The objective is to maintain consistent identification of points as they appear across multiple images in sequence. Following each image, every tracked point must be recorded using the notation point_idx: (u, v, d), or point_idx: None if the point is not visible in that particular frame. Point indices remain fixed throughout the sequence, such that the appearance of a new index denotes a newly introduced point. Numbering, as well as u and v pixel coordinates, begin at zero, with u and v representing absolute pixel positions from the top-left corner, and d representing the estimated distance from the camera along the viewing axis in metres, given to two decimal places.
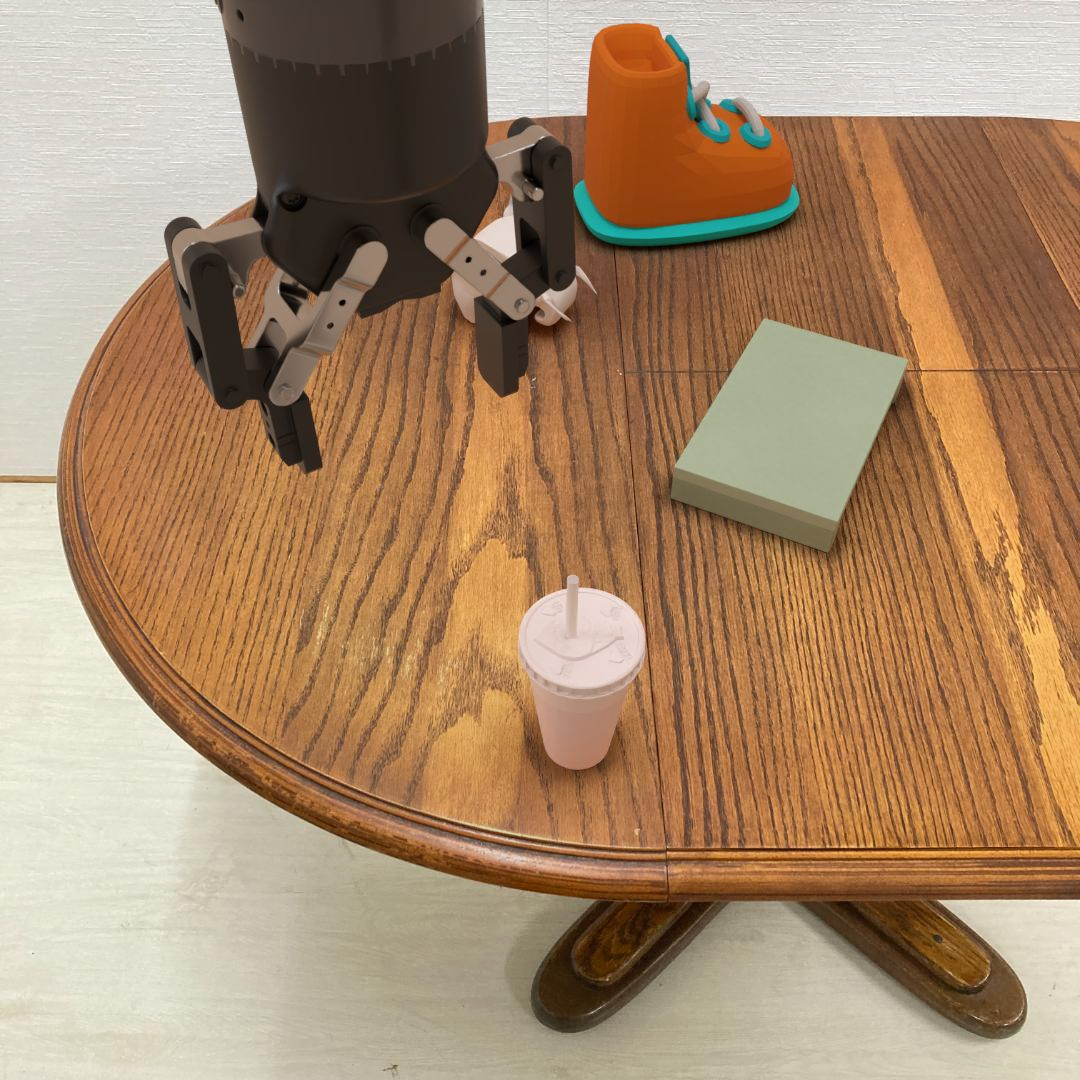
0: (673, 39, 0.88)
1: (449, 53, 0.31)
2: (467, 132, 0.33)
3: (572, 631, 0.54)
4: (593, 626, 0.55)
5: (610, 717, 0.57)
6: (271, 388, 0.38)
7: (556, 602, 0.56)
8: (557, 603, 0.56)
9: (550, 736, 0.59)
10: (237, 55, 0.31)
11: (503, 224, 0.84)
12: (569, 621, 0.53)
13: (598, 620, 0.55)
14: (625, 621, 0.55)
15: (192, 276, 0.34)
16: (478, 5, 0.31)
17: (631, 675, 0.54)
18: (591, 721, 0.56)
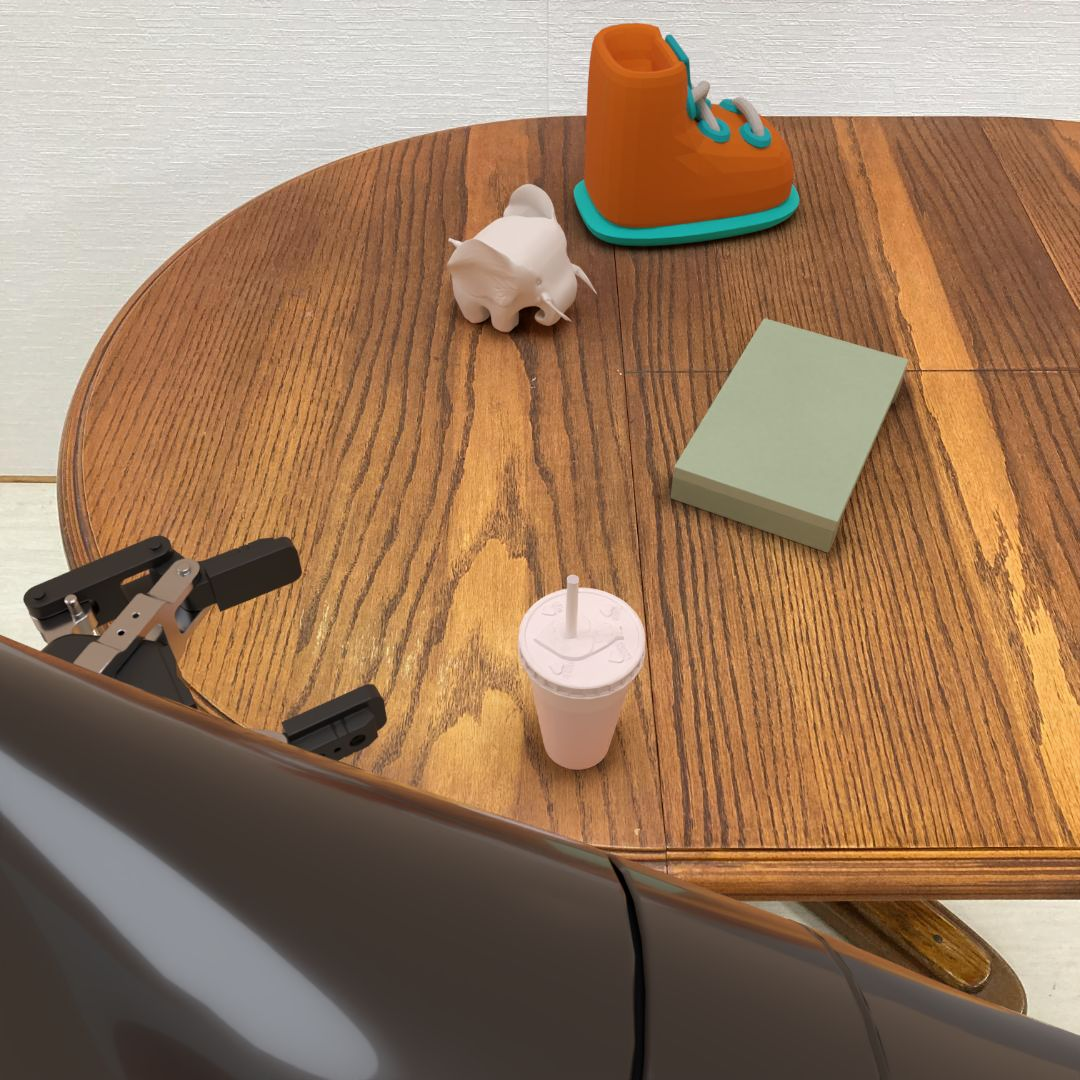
0: (673, 39, 0.88)
1: None
2: None
3: (572, 631, 0.54)
4: (593, 626, 0.55)
5: (610, 717, 0.57)
6: None
7: (556, 602, 0.56)
8: (557, 603, 0.56)
9: (550, 736, 0.59)
10: None
11: (503, 224, 0.84)
12: (569, 621, 0.53)
13: (598, 620, 0.55)
14: (625, 621, 0.55)
15: None
16: None
17: (631, 675, 0.54)
18: (591, 721, 0.56)
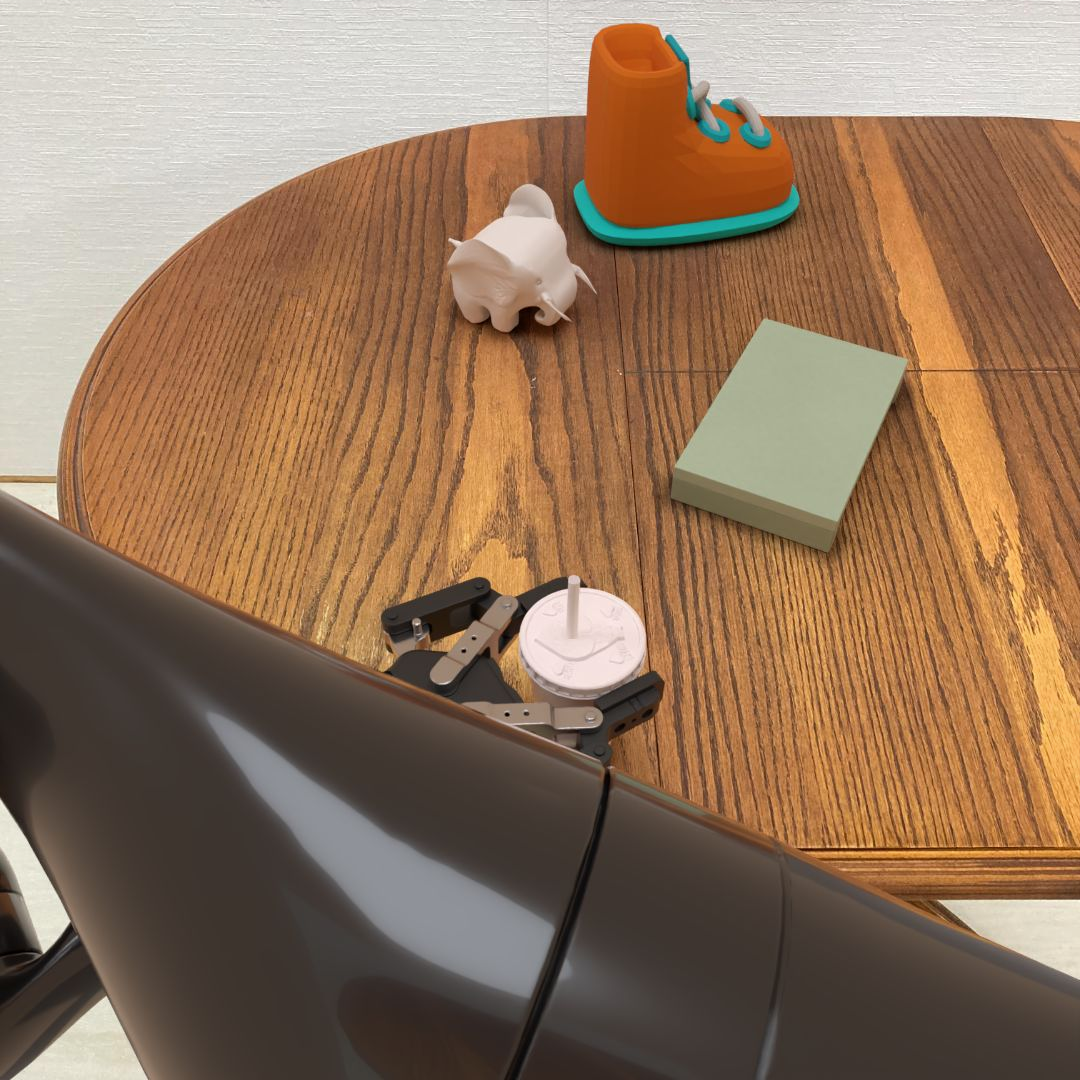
0: (673, 39, 0.88)
1: None
2: None
3: (573, 631, 0.54)
4: (594, 626, 0.55)
5: None
6: (589, 727, 0.52)
7: (557, 602, 0.56)
8: (558, 603, 0.56)
9: None
10: None
11: (503, 224, 0.84)
12: (570, 621, 0.53)
13: (599, 620, 0.55)
14: (626, 621, 0.55)
15: None
16: None
17: (632, 675, 0.54)
18: None
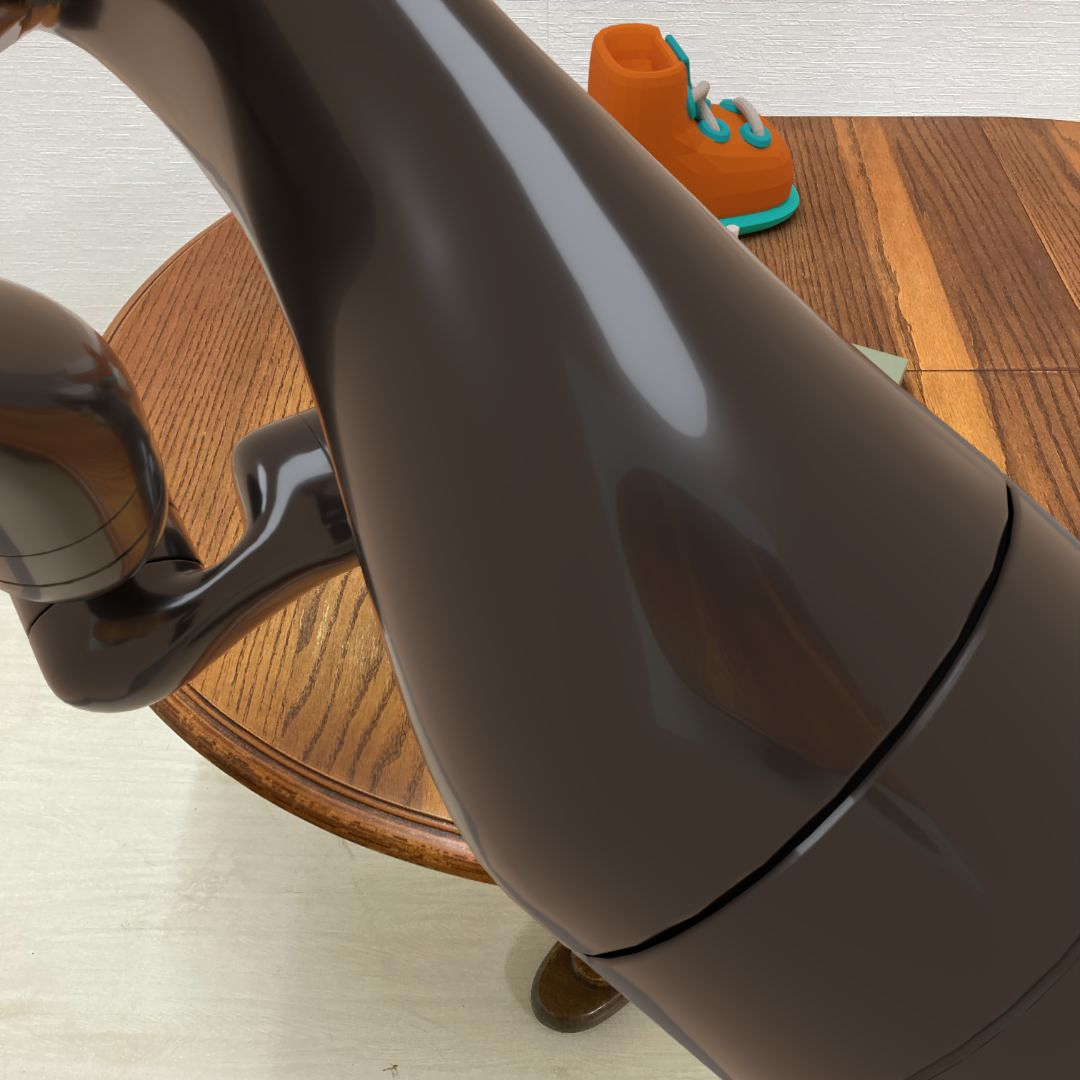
0: (673, 39, 0.88)
1: None
2: None
3: None
4: None
5: None
6: None
7: None
8: None
9: None
10: None
11: None
12: None
13: None
14: None
15: None
16: None
17: None
18: None
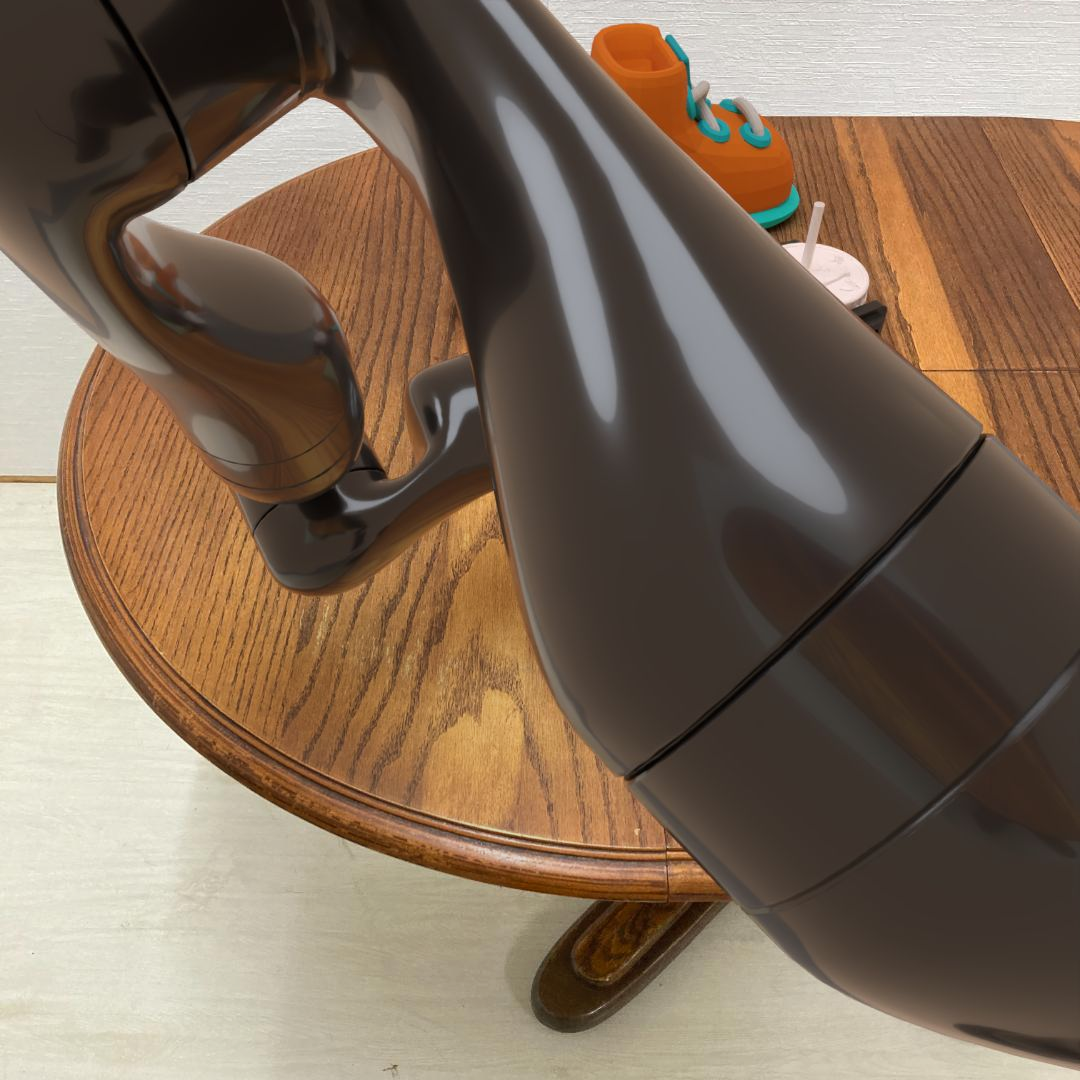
0: (673, 39, 0.88)
1: None
2: None
3: (808, 264, 0.62)
4: (822, 266, 0.63)
5: None
6: None
7: None
8: None
9: None
10: None
11: None
12: (808, 252, 0.61)
13: (825, 263, 0.63)
14: (848, 265, 0.63)
15: None
16: None
17: (859, 303, 0.62)
18: None
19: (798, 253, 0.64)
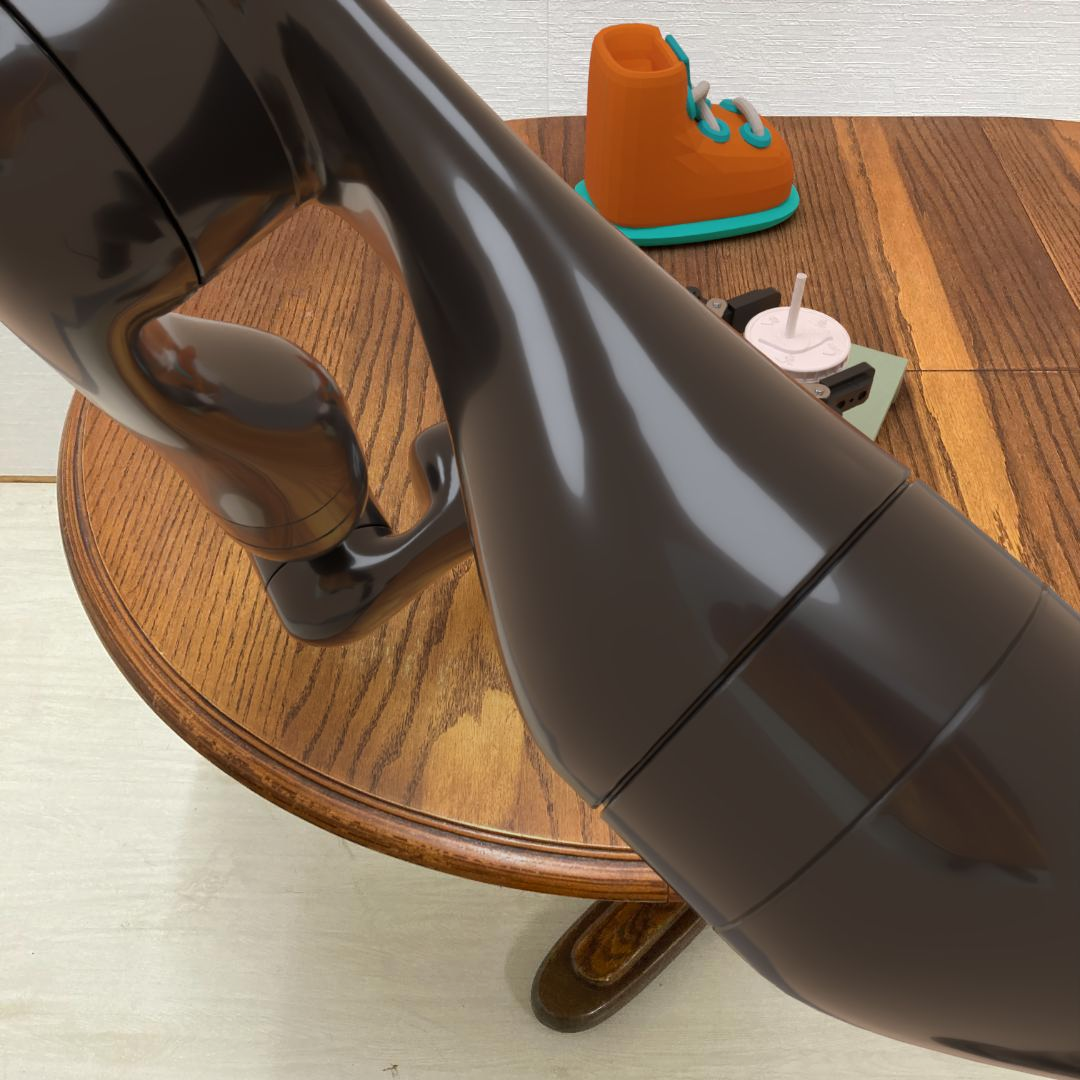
0: (673, 39, 0.88)
1: None
2: None
3: (792, 330, 0.65)
4: (806, 330, 0.66)
5: None
6: (820, 397, 0.62)
7: (771, 316, 0.67)
8: (772, 317, 0.67)
9: None
10: None
11: None
12: (791, 319, 0.65)
13: (809, 327, 0.67)
14: (831, 328, 0.67)
15: None
16: None
17: (841, 366, 0.65)
18: None
19: (783, 317, 0.67)
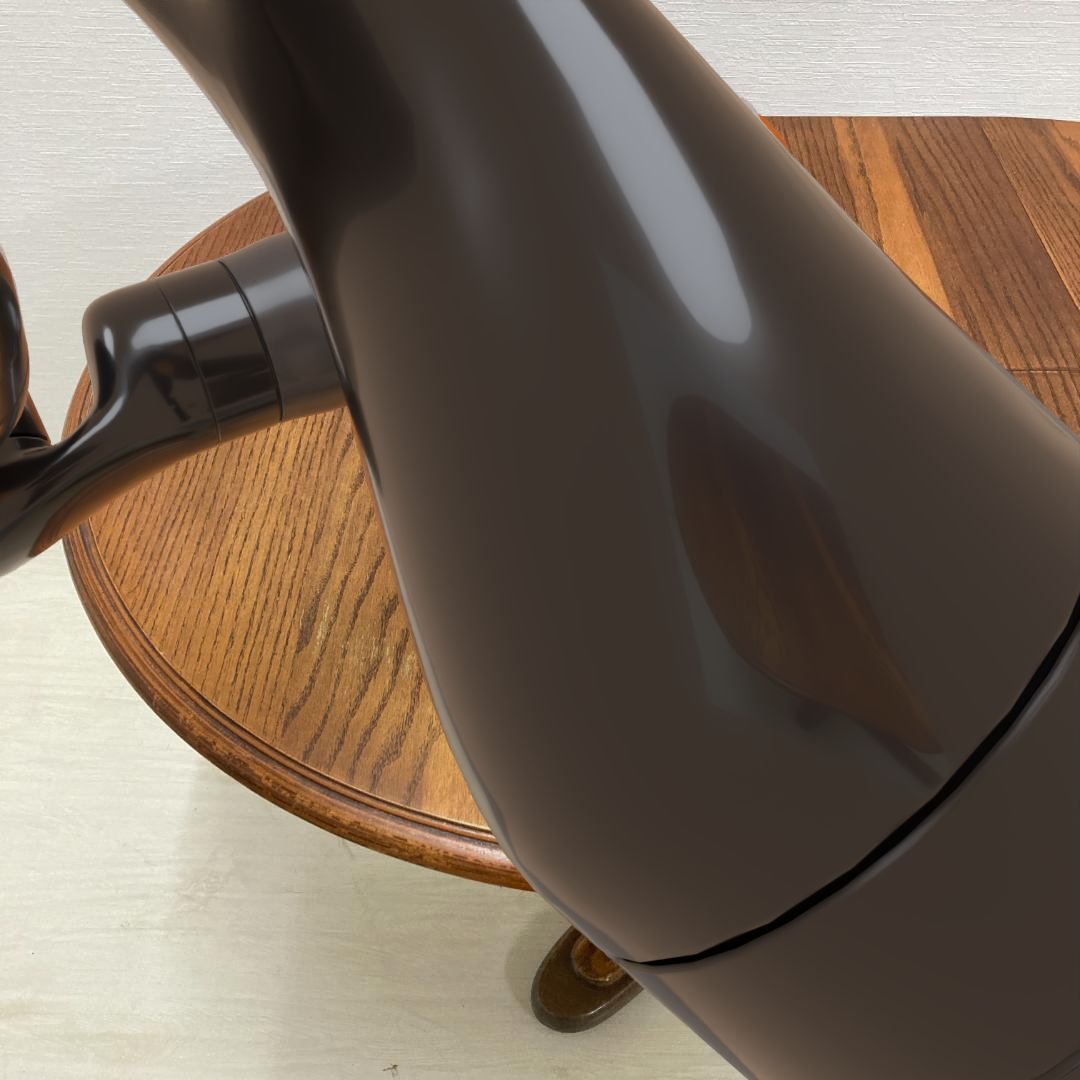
0: None
1: None
2: None
3: None
4: None
5: None
6: None
7: None
8: None
9: None
10: None
11: None
12: None
13: None
14: None
15: None
16: None
17: None
18: None
19: None
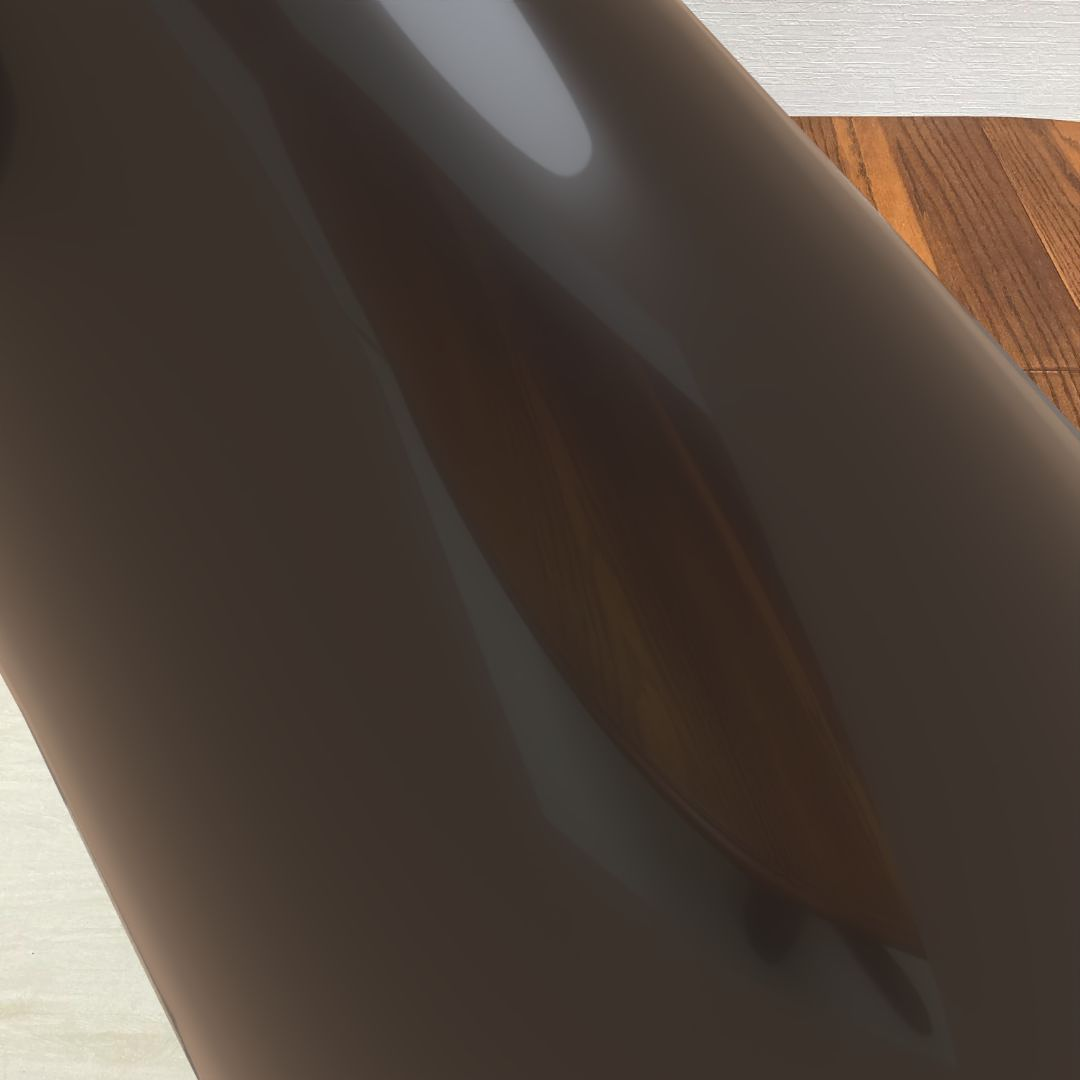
0: None
1: None
2: None
3: None
4: None
5: None
6: None
7: None
8: None
9: None
10: None
11: None
12: None
13: None
14: None
15: None
16: None
17: None
18: None
19: None
